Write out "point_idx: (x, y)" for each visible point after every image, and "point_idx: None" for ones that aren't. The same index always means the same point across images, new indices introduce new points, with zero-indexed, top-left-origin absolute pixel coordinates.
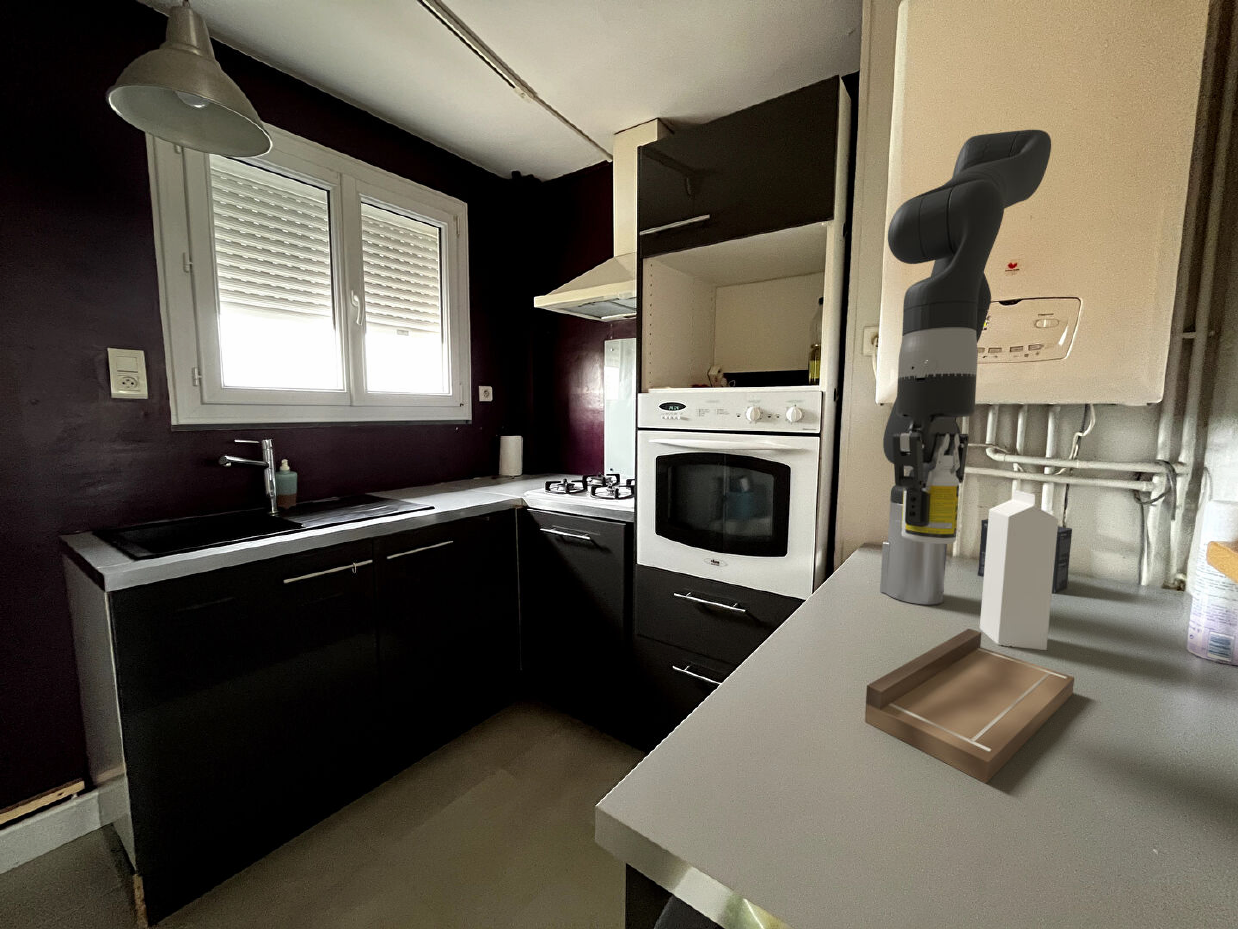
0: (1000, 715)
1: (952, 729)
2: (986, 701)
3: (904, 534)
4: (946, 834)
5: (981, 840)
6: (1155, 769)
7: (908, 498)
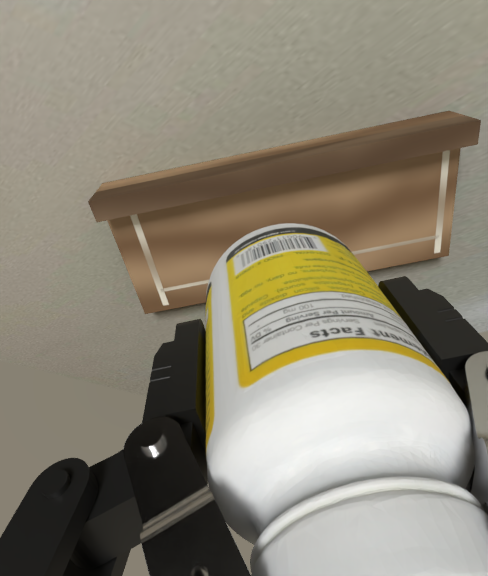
0: None
1: (162, 269)
2: None
3: (214, 270)
4: (55, 322)
5: (80, 333)
6: None
7: (148, 414)
